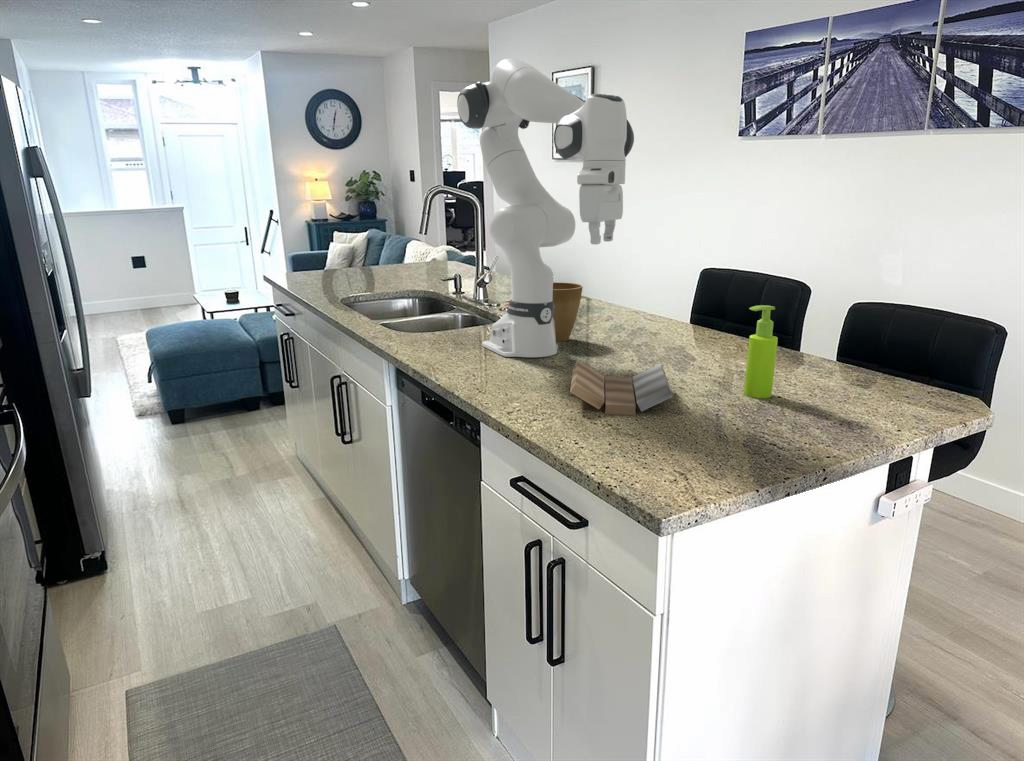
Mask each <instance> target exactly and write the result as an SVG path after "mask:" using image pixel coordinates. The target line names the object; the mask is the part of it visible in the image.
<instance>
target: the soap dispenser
mask: <svg viewBox="0 0 1024 761" xmlns="http://www.w3.org/2000/svg"><path fill="white" fill-rule="evenodd" d="M748 309H749V310H751V311H754V312H758V311H762V312H761V313H762V314H761V318H759V320H757V322H756V330H755V334H751V335H749V337H748V338H749V339H748V348H747V349H748V350H747V356H746V369H745V377H744V385H743V386H744V387H743V395H745V396H746V397H750V398H753V399H755V398H756V399H768V398H771V397H772V394H773V393H772V392H773V385H774V384H773V383H774V375H775V367H776V360H777V359H776V358H777V350H778V339H779V338H778V337H777V336H774V335H773V330H774V321H773V320H772V319H771V311H773V310H774V311H775V310H776V306H773V305H772V306H771V305H768V304H767V305H764V304H760V305H758V304H757V305H754V306H751V307H749V308H748Z"/></svg>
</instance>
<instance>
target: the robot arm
mask: <svg viewBox="0 0 1024 761" xmlns="http://www.w3.org/2000/svg"><path fill="white" fill-rule="evenodd" d="M456 105H457V106H456V107H457V112H458V116H459V119H460V121H461V122H462V124H463V125H464V126H465V127H466V128H468V129H475V130H476V129H478V130H481V129H482V128H484V129H482V131H481V133H480V136H479V145H480V149H481V155H482V158H483V160H484V161H483V162H484V165H485V167H486V169H487V170H486V171H487V172H488V175H489V176H490V180H491V183H492V184H493V187H494V189H495V192H496V194H497V196H498V197H499V198H500V199H501V200H502V201H503V202H505V203H507V204H508V205H510V206H505V207H503V208H502V207H501V208H499V209H497V210H496V211H495V212H494V213H493V214H492V216H491V219H490V223H489V233H490V237H491V239H492V241H493V242H494V244H496V245H497V246H498V247H499V248H500V249H501V250H502V252H503V253H504V255H505V257H506V261H508V267H509V269H510V280H511V296H510V297H511V299H510V300H507V301H505V304H504V306H507V310H506V313H505V314H504V315H503V316H502V317H500V318H499V319H498V320H497V321H495V322H494V323H493V324H492V326H491V328H490V336H489V337H490V339H486V340H484V341H482V343H481V347H484V348H485V349H488V350H490V351H492V352H494V353H496V354H498V355H500V356H502V357H506V358H507V357H509V358H511V357H512V358H513V357H515V358H516V357H519V358H544V357H551V356H554V355H556V354H557V353H558V349H559V345H558V343H557V342H556V336H555V322H554V319H553V314H554V308H555V306H554V301H553V282H554V273H553V269H552V267H550V266H549V265H547V264H546V263H544V261H543V259H542V256H541V252H540V248H550V247H556V246H559V245H562V244H565V243H567V242H569V241H570V240H572V238H573V236H574V234H575V230H576V218H575V216H574V214H573V213H572V212H573V211H571V210H570V209H569V208H567V207H566V206H564V205H563V204H561V203H560V202H558V201H557V200H556V199H555V198H554V197H553V196H552V195H551V194H550V193H549V192H548V191H547V190H546V188H545V187H544V186H543V184H542V183H541V181H540V180H539V179H538V177H537V175H536V173H535V171H534V168H533V167H532V164H531V162H530V159H529V158H528V156H527V153H526V151H525V148H524V146H523V144H522V143H521V140H520V137H519V128H520V129H521V130H522V129H523V130H525V129H527V128H528V127H529V126H530V122H533V123H544V124H545V123H546V124H556V125H555V128H554V132H553V143H554V147H555V151H556V152H557V154H558V156H560V157H561V159H564V160H568V161H572V162H573V161H576V162H578V161H579V162H581V161H582V168H581V170H580V171H579V172H578V174H577V176H576V183H577V185H580V186H579V191H578V194H579V195H578V198H579V199H578V200H579V201H578V202H579V205H578V206H579V217H580V220H581V222H582V223H588V230H589V235H590V241H589V242H590V244H591V245H600V244H601V243H602V241H601V239H602V238H601V237H602V235H601V234H600V232H601V230H600V228H601V223H602V222H604V233H603V239H602V240H603V242H612V241H613V240H614V232H615V229H616V228H615V227H616V223H617V222H616V221H617V220H621V219H622V217H623V214H624V195H623V193H624V192H623V187H622V185H625V184H626V166H627V164H626V161H627V160H626V159H627V156H628V155H629V153H630V152H631V150H633V149H632V148H633V147H634V143H635V134H634V131H633V127H632V125H631V123H630V122H629V120H628V118H627V108H626V103H625V100H624V99H623V98H621V96H619V95H614V94H613V95H612V94H605V93H604V94H603V93H602V94H601V93H592V94H590V95H588V96H587V97H586V99H585V100H584V99H583V98H581V97H579V96H577V95H576V94H573V93H572V92H570V91H569V90H567V89H565V88H564V87H562V86H561V85H559V84H557V83H556V82H555V81H554V80H552V79H550V78H549V77H547V76H546V75H545V74H543V73H542V72H541V71H539V70H538V69H537V68H536V67H534V66H532V65H531V64H529V63H527V62H525V61H523V60H520V59H518V58H513V57H512V58H511V57H508V58H505V59H504V58H503V59H502V60H501V61H499V62H498V63H497V64H496V65H495V67H494V68H493V70H492V74H491V80H489V81H486V82H485V81H484V82H480V81H477V82H476V83H473V84H470V85H468V86H466V87H464V88H462V89H461V91H460V93H459V94H458V96H457V101H456Z"/></svg>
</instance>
